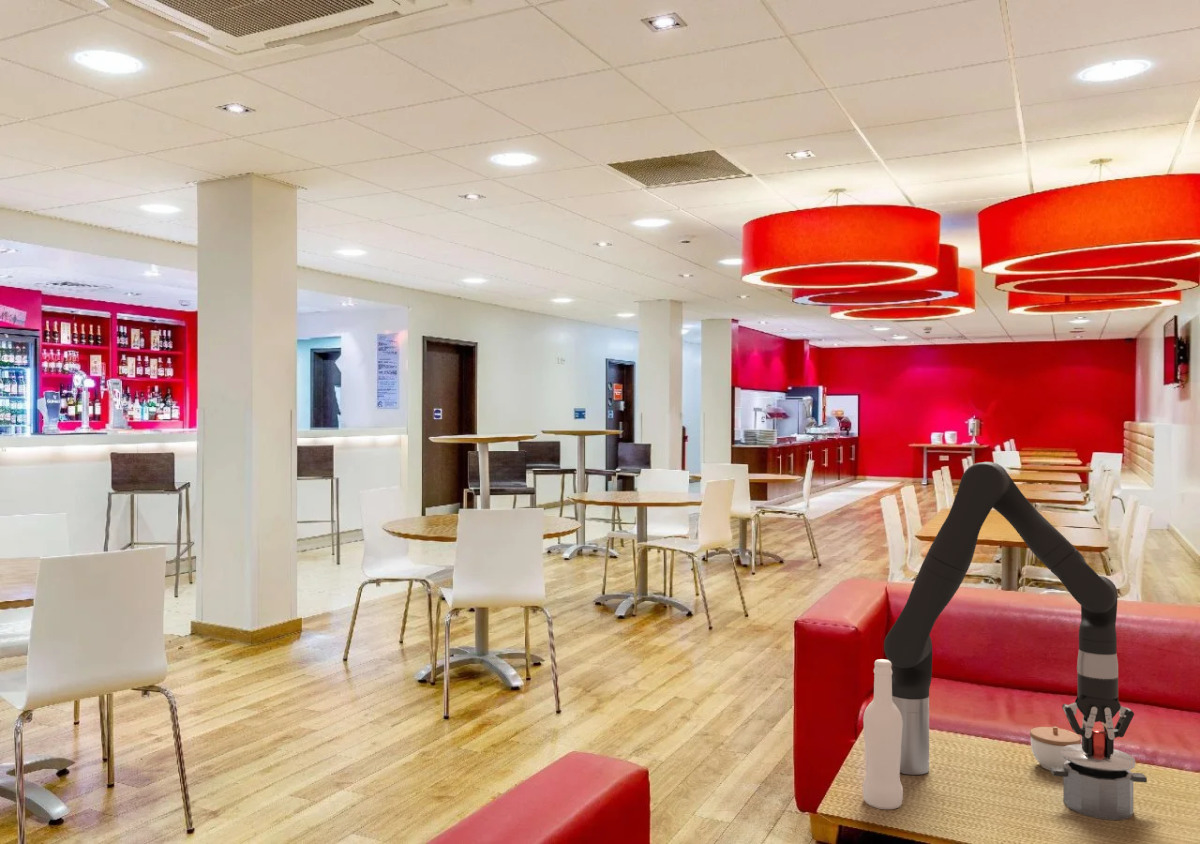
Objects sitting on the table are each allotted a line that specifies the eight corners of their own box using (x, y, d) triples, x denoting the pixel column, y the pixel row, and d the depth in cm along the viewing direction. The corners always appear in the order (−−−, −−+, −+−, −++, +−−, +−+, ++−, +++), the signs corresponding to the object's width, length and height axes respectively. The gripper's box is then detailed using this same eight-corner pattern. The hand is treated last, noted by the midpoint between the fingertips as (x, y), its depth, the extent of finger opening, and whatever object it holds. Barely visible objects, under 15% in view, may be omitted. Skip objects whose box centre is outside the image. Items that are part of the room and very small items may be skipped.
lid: (1071, 772, 186) (1071, 739, 187) (1053, 750, 200) (1053, 719, 200) (1145, 778, 184) (1145, 744, 184) (1122, 755, 197) (1122, 723, 197)
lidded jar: (1069, 760, 219) (1069, 720, 219) (1089, 776, 209) (1089, 735, 209) (1023, 758, 220) (1023, 719, 220) (1040, 774, 210) (1040, 733, 210)
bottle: (882, 813, 188) (882, 666, 188) (854, 799, 195) (854, 658, 195) (911, 806, 191) (911, 662, 192) (882, 792, 199) (883, 654, 199)
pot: (1060, 815, 187) (1060, 776, 187) (1043, 792, 199) (1043, 755, 199) (1156, 823, 184) (1156, 783, 184) (1133, 799, 196) (1133, 761, 196)
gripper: (1066, 675, 189) (1067, 759, 189) (1141, 679, 187) (1141, 764, 187) (1056, 666, 197) (1056, 747, 197) (1127, 669, 194) (1127, 751, 194)
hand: (1097, 754), depth 192 cm, fingers closed on lid, 3 cm apart
